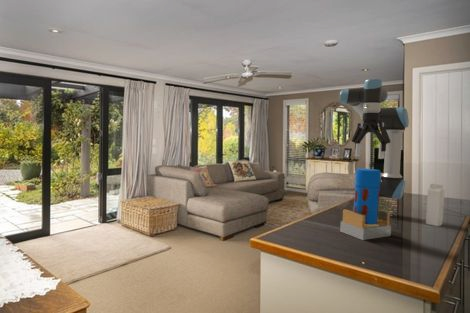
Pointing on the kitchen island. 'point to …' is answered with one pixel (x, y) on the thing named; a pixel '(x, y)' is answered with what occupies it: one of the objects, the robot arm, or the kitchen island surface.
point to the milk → (435, 205)
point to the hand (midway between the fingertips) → (369, 157)
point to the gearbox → (365, 225)
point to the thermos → (367, 194)
